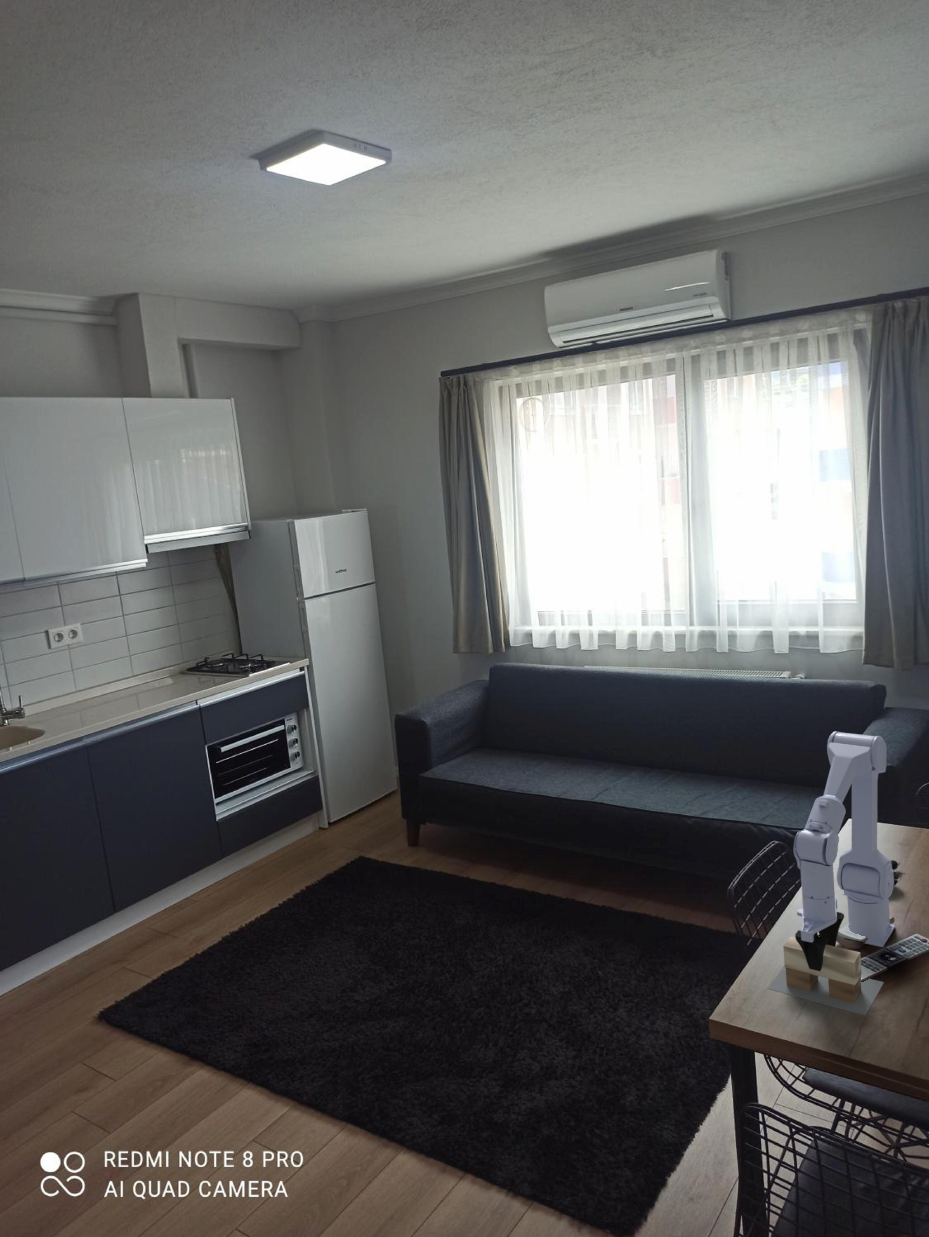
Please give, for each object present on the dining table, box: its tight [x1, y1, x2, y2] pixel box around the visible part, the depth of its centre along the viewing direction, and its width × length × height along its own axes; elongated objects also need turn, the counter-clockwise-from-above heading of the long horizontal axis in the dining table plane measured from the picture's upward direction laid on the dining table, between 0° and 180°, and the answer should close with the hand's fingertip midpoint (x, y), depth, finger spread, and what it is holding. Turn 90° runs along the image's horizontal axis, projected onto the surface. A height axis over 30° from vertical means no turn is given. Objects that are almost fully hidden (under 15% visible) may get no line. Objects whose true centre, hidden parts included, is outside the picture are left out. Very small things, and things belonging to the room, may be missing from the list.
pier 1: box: [786, 968, 818, 991], centre depth 177 cm, size 4×4×4 cm
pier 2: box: [828, 975, 862, 1003], centre depth 172 cm, size 4×4×4 cm
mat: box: [767, 965, 885, 1016], centre depth 176 cm, size 12×18×1 cm, turn 51°
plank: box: [782, 936, 863, 985], centre depth 174 cm, size 4×13×4 cm, turn 51°
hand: (821, 959), depth 174 cm, fingers open, 7 cm apart
